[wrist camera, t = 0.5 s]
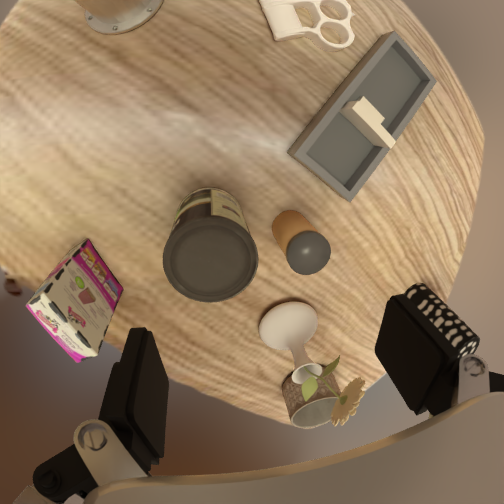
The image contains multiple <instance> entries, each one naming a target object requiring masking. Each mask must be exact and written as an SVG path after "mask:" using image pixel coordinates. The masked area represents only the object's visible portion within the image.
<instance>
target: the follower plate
mask: <svg viewBox="0 0 504 504" xmlns="http://www.w3.org/2000/svg"><path fill="white" fill-rule="evenodd" d="M339 112H340V113H341V114H342V115H343V116H344V117H345V118H347V119H348V120H349V121H350V122H351V123H352V124H353V125H354V126H355V127H356V128H357V129H358V130H359V131H360V132H361V133H362V134H363V135H364V136H365V137H366V138H367V139H368V140H369V141H370V142H371V143H372V144H373V145H375V146H380V147H384V148H389V149H391V148H392V147H393V145H394V144H395V143H396V141H395V140H394V138H393V137H392V136H391V135H390V134H389V133H388V132H387V131H386V129H385V128H384V127H383V126H382V125H381V123H382V121H383V120H384V119H385V118H384V117H383V116H382V115H381V114H380V113H379V112H378V111H377V110H376V109H375V107H374V106H373V105H372V104H371V103H370V102H369V101H368V100H367V99H366V98H365V97H364V96H361V97H360V98H359V99H358V100H357V101H350V102H346V103H345V104H344V105H343V107H342V108H341V109H340V110H339Z"/></svg>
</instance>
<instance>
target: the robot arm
mask: <svg viewBox="0 0 504 504" xmlns="http://www.w3.org/2000/svg"><path fill="white" fill-rule="evenodd" d="M75 1H76V2H77V3H78V4H80V5H81V6H82V7H83V8H84V9H85V19H86V21H87V23H88V25H89V26H90V27H91V28H92V29H93V30H95V31H97V32H99V33H101V34H107V35H115V34H121V33H125V32H128V31H131V30H133V29H135V28H137V27H139V26H141V25H142V24H144V23H145V22H146V21H148V20H149V19H150V18H151V17H152V16H153V15H154V14H155V13H156V12H157V11H158V9H159V8H160V6H161V4H162V2H163V0H75ZM150 11H151V12H150ZM116 29H117V30H116ZM375 354H376V356H377V358H378V359H379V361H380V362H381V364H382V365H383V367H384V369H385V370H386V372H387V373H388V375H389V376H390V378H391V380H392V381H393V383H394V384H395V386H396V388H397V389H398V391H399V393H400V394H401V396H402V397H403V399H404V401H405V402H406V404H407V406H408V407H409V409H410V410H412V411H414V412H415V414H416V415H419V414H421V413H423V412H425V411H427V409H428V411H429V412H430V414H429V419H428V420H426V421H424V422H421V423H420V424H417V425H415V426H413V427H410V428H408V429H406V430H403V431H401V432H399V433H396V434H394V435H392V436H389V437H386V438H383V439H381V440H378V441H375V442H372V443H370V444H367V445H364V446H361V447H358V448H355V449H352V450H348V451H345V452H342V453H338V454H334V455H331V456H327V457H323V458H319V459H315V460H311V461H307V462H302V463H297V464H292V465H287V466H281V467H276V468H269V469H263V470H255V471H247V472H239V473H226V474H214V475H193V476H192V475H191V476H152V475H151V474H150V473H149V472H148V471H150V470H151V464H155V465H159V458H163V457H164V444H165V427H166V413H167V400H168V390H169V381H168V377H167V374H166V371H165V369H164V366H163V363H162V360H161V358H160V355H159V352H158V349H157V346H156V343H155V340H154V337H153V334H152V332H151V331H147V329H146V328H145V327H142V328H131V329H130V331H129V334H128V337H127V340H126V343H125V347H124V350H123V353H122V357H121V360H120V362H116V363H114V365H113V368H112V371H111V374H110V378H109V381H108V385H107V388H106V392H105V395H104V399H103V403H102V406H101V411H100V415H99V418H98V420H97V419H93V420H88V421H85V422H83V423H82V424H80V425H79V426H78V428H77V429H76V431H75V433H74V443H75V444H73V445H72V446H70V447H68V448H67V449H65V450H64V451H62V452H60V453H59V454H57V455H55V456H54V457H52V458H51V459H49V460H47V461H45V462H44V463H42V464H40V465H39V466H38V467H37V468H36V469H35V471H34V474H33V486H32V487H30V486H29V485H28V486H27V487H26V488H25V490H24V491H23V492H22V493H21V494H20V495H19V497H18V498H17V499H16V500H15V501H14V503H13V504H504V375H502V374H498V373H494V372H489V370H488V366H487V364H486V362H485V361H484V360H483V359H482V358H481V357H479V356H477V355H474V354H467V355H464V356H463V357H462V358H461V359H459V358H458V356H459V354H460V353H459V351H458V350H457V349H456V348H455V347H454V346H453V345H452V344H451V342H450V341H449V340H448V339H447V338H446V337H445V336H444V335H443V334H442V332H441V331H440V330H439V329H438V328H437V327H436V326H435V325H434V324H433V323H432V322H431V321H430V320H429V319H428V317H427V316H426V315H425V314H424V313H423V312H422V311H421V310H420V309H419V308H418V307H417V306H416V305H415V304H414V303H413V302H412V301H411V300H410V299H409V298H408V297H407V296H406V295H405V294H400V295H395V296H392V297H391V298H390V300H389V301H387V304H386V308H385V312H384V316H383V320H382V324H381V328H380V331H379V335H378V338H377V342H376V345H375Z"/></svg>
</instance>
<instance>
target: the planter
mask: <svg viewBox="0 0 504 504" xmlns="http://www.w3.org/2000/svg"><path fill="white" fill-rule="evenodd" d="M325 369H326V368H325V367H322V373H321V375H320V377H322V375H323V373H324V371H325ZM322 378H323V379H324V380H325V381H326V382H327V383H328V384H329V386H330V387H331V388H332V389H333V390H334V391H335V392H336V393H337V394H338V395H339V396H340V394H341V391H340V389H339V387H338V384H337V382H336V380H335V378H334V376H333V374H332V372H331V373H330V374H328V375H327V376H325V377H322ZM316 381H317V383H318V388H317V390H316V391H315V392H314V394H313V395H312V396H311V397H310V398H309V399H308V400H307V401H305V400H304V397H303V395H302V390H301V387H302V384H297V383H295V382H293V380H292V375H291V376H290V377H289V378H288V379H287V380H286V381H285V382H284V384H283V387H282V392H283V396H284V399H285V403H286V406H287V410H288V413H289V417H290V420H291V423H292V424H293V425H294V426H296V427H299V428H312V427H316V426H320V425H323V424H325V423H327V422H329V421H331V418H332V416H330V415H331V412H332V410H333V407H334V406H335V402H336V400H337V399H338V397H337V396H336V395H335V394H334V393H333V392H332V391H331V390H330V389H329V388H328V387H327V385H326V384H325V383H324V382H323V381H322V380H321V379H319V378H317V379H316Z"/></svg>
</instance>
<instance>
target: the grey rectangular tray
mask: <svg viewBox="0 0 504 504" xmlns="http://www.w3.org/2000/svg"><path fill="white" fill-rule="evenodd" d="M436 82H437V81H436V79H435V78H434V77H433V75H432V74H431V73H430V72H429V70H428V69H427V68H426V66H425V65H424V64H423V63H422V61H421V60H420V59H419V58H418V57H417V55H416V54H415V53H414V52H413V51H412V50H411V48H410V47H409V46H408V45H407V44H406V43H405V42H404V41H403V40H402V38H401V37H400V36H399V35H398V34H397V33H396V32H395V31H392V32H389V33H387V34H384V35H382V36H381V37H380V38H379V39H378V41H377V42H376V43H375V44H374V45H373V46H372V48H371V49H370V50H369V51H368V52H367V54H366V55H365V56H364V57H363V58H362V59H361V61H360V62H359V63H358V64H357V65H356V67H355V68H354V69H353V70H352V71H351V73H350V74H349V75H348V76H347V77H346V79H345V80H344V81H343V82H342V84H341V85H340V86H339V87H338V88H337V90H336V91H335V92H334V93H333V95H332V96H331V97H330V98H329V100H328V101H327V102H326V103H325V105H324V106H323V107H322V108H321V110H320V111H319V112H318V113H317V115H316V116H315V117H314V118H313V120H312V121H311V122H310V123H309V125H308V126H307V127H306V128H305V130H304V131H303V132H302V134H301V135H300V136H299V137H298V139H297V140H296V141H295V143H294V144H293V145H292V146H291V148H290V149H289V150H288V152H287V153H288V154H289V155H290V156H292V157H293V158H294V159H296V160H297V161H298V162H299V163H301V164H302V165H303V166H304V167H306V168H307V169H308V170H309V171H311V172H312V173H313V174H314V175H315V176H317V177H318V178H319V179H320V180H321V181H323V182H324V183H325V184H326V185H327V186H329V187H330V188H331V189H332V190H333V191H334V192H336V193H337V194H338V195H339V196H340V197H342V198H343V199H345V200H347V201H348V202H351V201H352V199H353V198H354V197H355V195H356V194H357V193H358V192H359V190H360V189H361V188H362V186H363V185H364V184H365V182H366V181H367V180H368V178H369V177H370V176H371V174H372V173H373V172H374V170H375V169H376V168H377V166H378V165H379V164H380V162H381V161H382V159H383V158H384V157H385V155H386V154H387V153H388V151H389V150H390V149H389V148H384V147H380V146H375V145H373V144H372V143H371V142H370V141H369V140H368V139H367V138H366V137H365V136H364V135H363V134H362V133H361V132H360V131H359V130H358V129H357V128H356V127H355V126H354V125H353V124H352V123H351V122H350V121H349V120H348V119H347V118H345V117H344V116H343V115H342V114H341V113H340V112H339V110H340V109H341V108H342V107H343V105H344V104H345V103H346V102H350V101H357V100H358V99H359V98H360V97H361V96H364V97H365V98H366V99H367V100H368V101H369V102H370V103H371V104H372V105H373V106H374V107H375V109H376V110H377V111H378V112H379V113H380V114H381V115H382V116H383V117H384V118H385V119H384V120H383V121H382V123H381V125H382V126H383V127H384V128H385V129H386V131H387V132H388V133H389V134H390V135H391V136H392V137H393V138H394V140H395V141H396V140H397V139H398V137H399V136H400V135H401V133H402V132H403V130H404V129H405V128H406V126H407V125H408V123H409V122H410V120H411V119H412V117H413V116H414V115H415V113H416V112H417V110H418V109H419V107H420V106H421V104H422V103H423V101H424V100H425V98H426V97H427V95H428V94H429V92H430V91H431V89H432V88H433V86H434V85H435V83H436Z"/></svg>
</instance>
